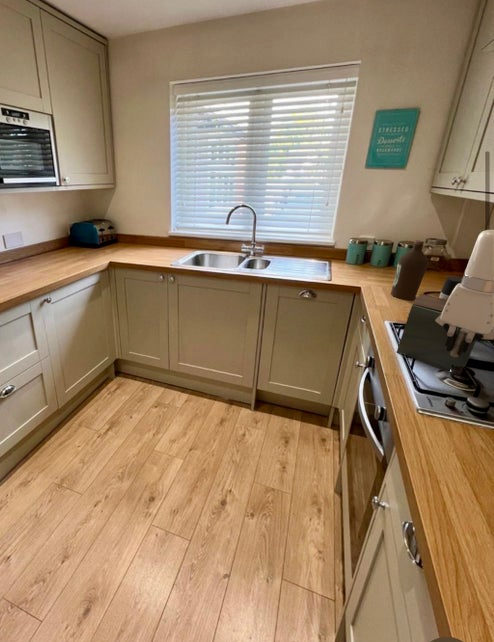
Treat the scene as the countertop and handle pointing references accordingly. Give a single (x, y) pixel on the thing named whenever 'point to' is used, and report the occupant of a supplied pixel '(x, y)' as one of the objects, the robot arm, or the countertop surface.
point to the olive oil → (410, 273)
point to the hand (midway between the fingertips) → (454, 351)
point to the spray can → (449, 287)
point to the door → (431, 340)
